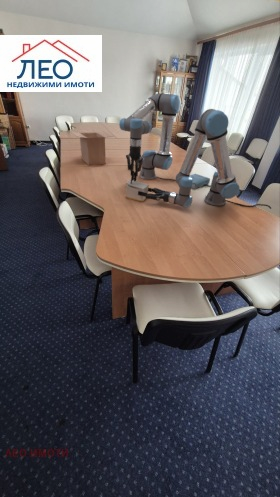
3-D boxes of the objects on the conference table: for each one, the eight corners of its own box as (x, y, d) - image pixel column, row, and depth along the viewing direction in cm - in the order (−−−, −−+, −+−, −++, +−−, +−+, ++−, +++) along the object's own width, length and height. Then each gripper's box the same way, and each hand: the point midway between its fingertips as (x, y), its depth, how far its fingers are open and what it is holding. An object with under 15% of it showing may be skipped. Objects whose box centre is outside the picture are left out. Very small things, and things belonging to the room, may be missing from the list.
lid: (125, 184, 160) (126, 173, 155) (131, 180, 167) (132, 169, 162) (143, 190, 156) (145, 179, 151) (148, 185, 163) (150, 175, 158)
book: (194, 178, 210) (195, 173, 207) (209, 183, 201) (210, 178, 198) (179, 183, 196) (180, 178, 193) (194, 189, 188) (196, 183, 185)
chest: (126, 197, 166) (126, 186, 160) (131, 193, 173) (132, 182, 168) (142, 201, 162) (143, 190, 156) (147, 197, 169) (148, 186, 163)
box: (116, 165, 229) (116, 136, 213) (83, 168, 214) (80, 137, 198) (102, 154, 259) (101, 128, 243) (71, 156, 244) (68, 129, 228)
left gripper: (123, 145, 146) (122, 179, 160) (142, 148, 142) (140, 184, 156) (128, 143, 152) (127, 177, 166) (147, 146, 147) (145, 181, 161)
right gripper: (163, 208, 150) (134, 200, 157) (173, 197, 166) (146, 190, 173) (165, 197, 145) (134, 190, 152) (175, 187, 162) (147, 181, 169)
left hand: (133, 180), depth 161 cm, fingers closed on lid
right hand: (141, 190), depth 163 cm, fingers closed on chest, 9 cm apart
